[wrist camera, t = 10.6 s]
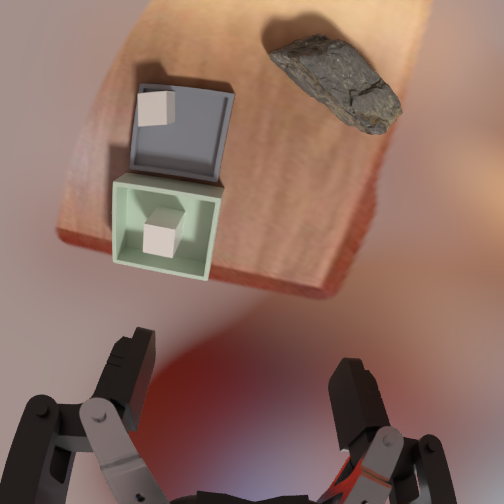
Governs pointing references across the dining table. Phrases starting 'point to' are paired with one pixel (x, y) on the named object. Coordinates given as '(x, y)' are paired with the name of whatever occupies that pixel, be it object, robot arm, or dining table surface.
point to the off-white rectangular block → (163, 231)
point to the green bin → (174, 197)
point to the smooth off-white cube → (156, 108)
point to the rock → (340, 82)
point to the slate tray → (184, 134)
